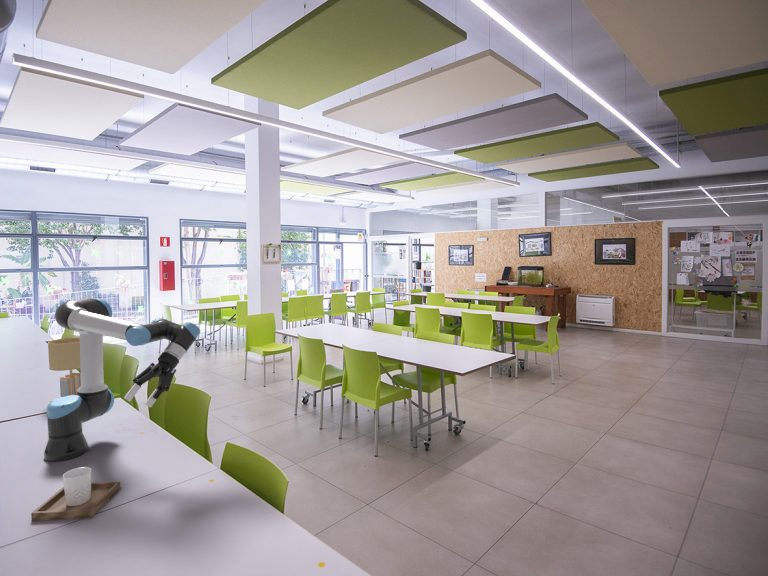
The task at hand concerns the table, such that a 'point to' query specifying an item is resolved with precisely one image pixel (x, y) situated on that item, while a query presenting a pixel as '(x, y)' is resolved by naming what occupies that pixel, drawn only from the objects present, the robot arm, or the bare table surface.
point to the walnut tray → (60, 510)
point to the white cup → (77, 486)
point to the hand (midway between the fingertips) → (136, 402)
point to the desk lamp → (66, 363)
